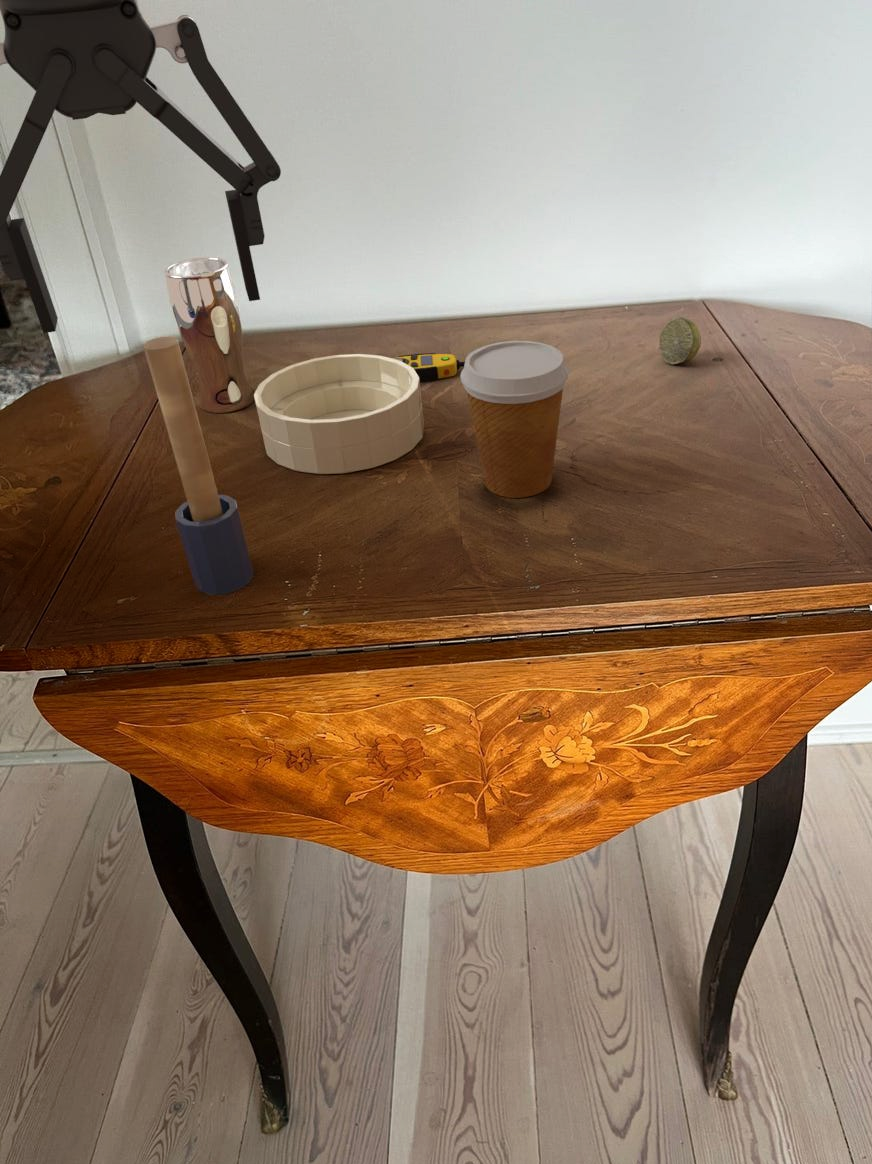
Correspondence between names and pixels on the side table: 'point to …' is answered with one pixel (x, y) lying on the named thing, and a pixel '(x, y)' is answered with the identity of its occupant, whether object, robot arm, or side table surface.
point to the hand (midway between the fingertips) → (154, 310)
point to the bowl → (340, 413)
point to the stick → (183, 427)
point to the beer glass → (210, 330)
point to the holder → (216, 549)
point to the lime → (679, 341)
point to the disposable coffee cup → (516, 413)
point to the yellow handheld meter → (432, 365)
